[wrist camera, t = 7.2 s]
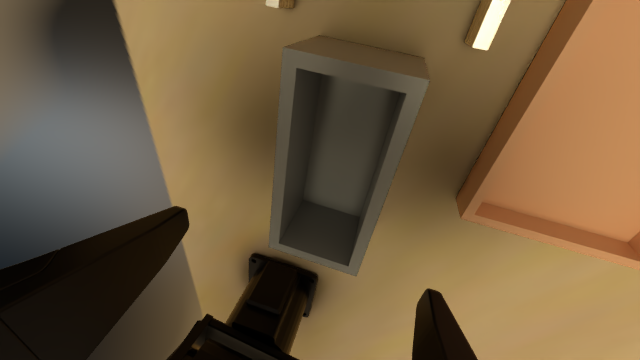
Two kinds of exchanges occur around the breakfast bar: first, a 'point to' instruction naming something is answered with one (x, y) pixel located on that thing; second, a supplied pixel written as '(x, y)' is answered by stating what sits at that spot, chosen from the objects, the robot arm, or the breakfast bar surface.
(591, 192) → the tray
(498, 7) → the bay
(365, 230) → the box
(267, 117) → the breakfast bar surface
